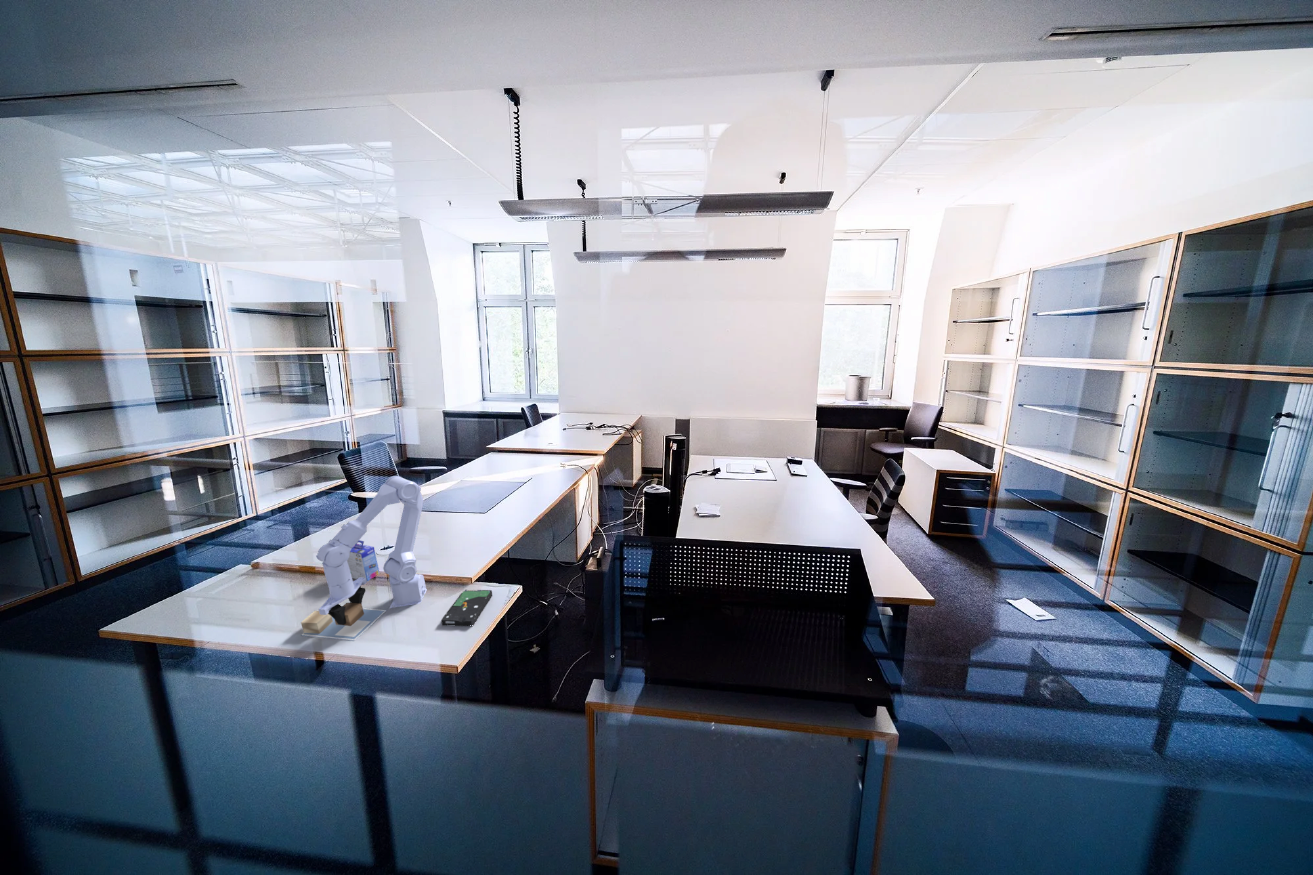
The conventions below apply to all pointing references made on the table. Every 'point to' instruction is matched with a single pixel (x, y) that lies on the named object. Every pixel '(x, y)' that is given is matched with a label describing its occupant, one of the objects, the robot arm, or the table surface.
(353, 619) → the walnut block
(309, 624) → the maple block
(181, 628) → the table surface
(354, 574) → the ink cartridge box
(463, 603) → the disk drive
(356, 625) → the mat
